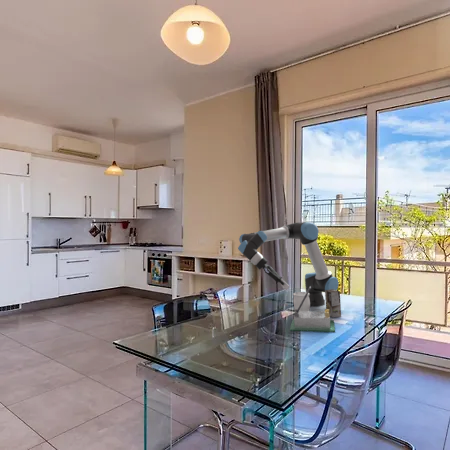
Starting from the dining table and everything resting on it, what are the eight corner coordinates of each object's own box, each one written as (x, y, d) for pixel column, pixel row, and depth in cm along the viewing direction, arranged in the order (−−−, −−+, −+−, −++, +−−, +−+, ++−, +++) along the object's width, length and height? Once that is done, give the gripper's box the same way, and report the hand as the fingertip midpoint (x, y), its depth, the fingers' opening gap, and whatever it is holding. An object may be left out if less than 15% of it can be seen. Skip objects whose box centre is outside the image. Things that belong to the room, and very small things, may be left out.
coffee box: (341, 316, 224) (340, 291, 224) (332, 317, 223) (330, 292, 223) (334, 312, 233) (333, 288, 233) (325, 313, 232) (324, 289, 232)
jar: (311, 314, 234) (310, 291, 233) (309, 318, 224) (308, 295, 224) (295, 313, 237) (294, 291, 237) (293, 317, 227) (291, 295, 227)
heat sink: (290, 331, 202) (289, 315, 202) (292, 320, 221) (291, 306, 221) (335, 332, 195) (334, 315, 195) (334, 321, 215) (333, 306, 214)
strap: (296, 315, 208) (295, 314, 208) (297, 312, 213) (295, 312, 213) (311, 288, 205) (309, 287, 206) (311, 286, 210) (309, 285, 210)
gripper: (257, 264, 222) (285, 290, 218) (253, 267, 210) (282, 294, 206) (265, 255, 221) (293, 281, 217) (261, 258, 208) (291, 285, 204)
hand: (288, 287), depth 211 cm, fingers closed
